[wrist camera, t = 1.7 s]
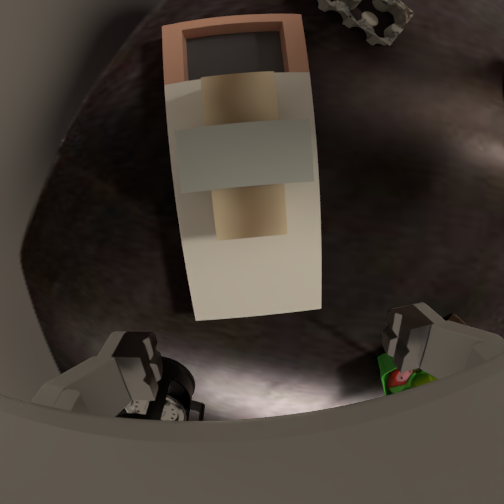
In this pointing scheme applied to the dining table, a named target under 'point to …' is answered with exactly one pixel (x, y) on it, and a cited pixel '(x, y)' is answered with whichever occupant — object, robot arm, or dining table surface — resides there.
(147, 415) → the french press
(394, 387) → the fruit basket
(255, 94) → the maple bar
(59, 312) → the dining table surface
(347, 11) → the egg carton
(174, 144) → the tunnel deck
